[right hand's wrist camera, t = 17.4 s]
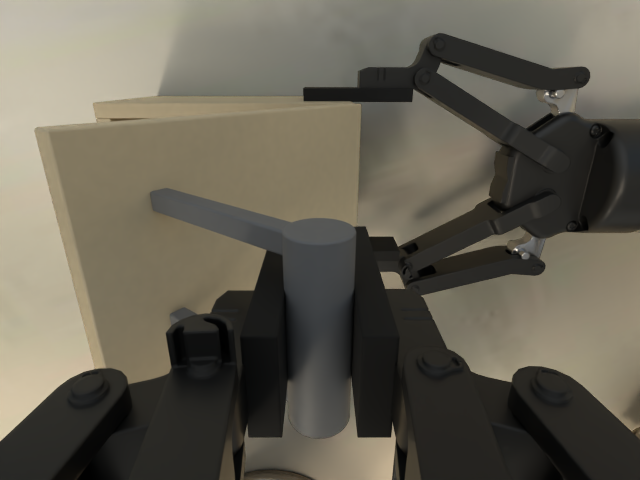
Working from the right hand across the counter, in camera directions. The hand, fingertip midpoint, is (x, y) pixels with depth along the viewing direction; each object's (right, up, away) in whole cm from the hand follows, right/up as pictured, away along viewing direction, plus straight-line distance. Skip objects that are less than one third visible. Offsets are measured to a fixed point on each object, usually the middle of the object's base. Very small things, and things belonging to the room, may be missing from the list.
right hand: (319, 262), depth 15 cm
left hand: (-1, +5, +13) cm, 14 cm away
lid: (-3, +2, +4) cm, 5 cm away
